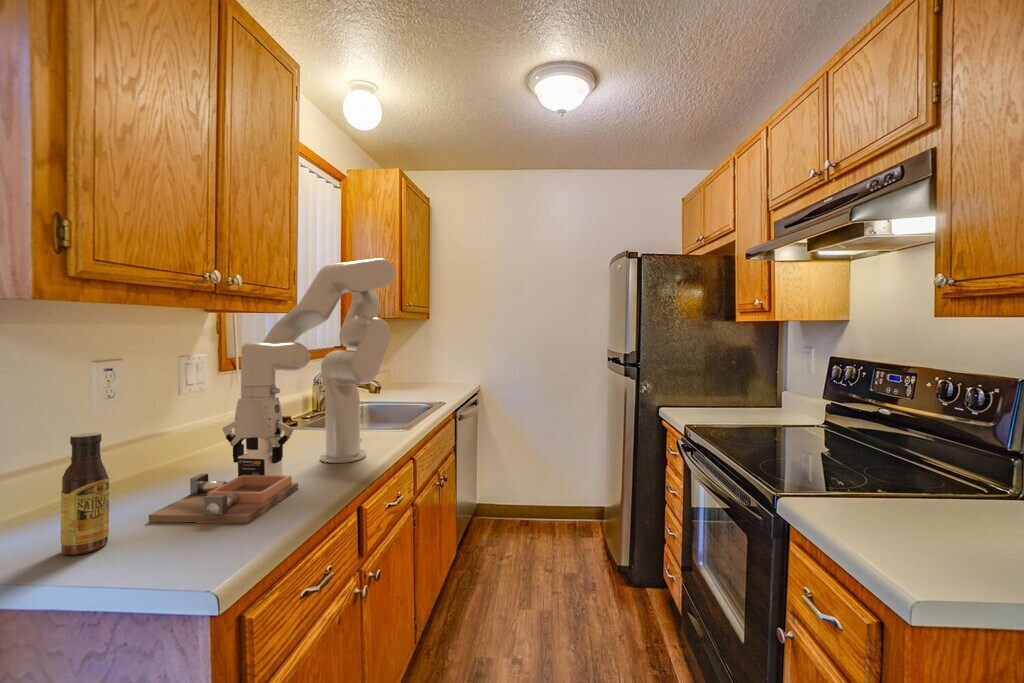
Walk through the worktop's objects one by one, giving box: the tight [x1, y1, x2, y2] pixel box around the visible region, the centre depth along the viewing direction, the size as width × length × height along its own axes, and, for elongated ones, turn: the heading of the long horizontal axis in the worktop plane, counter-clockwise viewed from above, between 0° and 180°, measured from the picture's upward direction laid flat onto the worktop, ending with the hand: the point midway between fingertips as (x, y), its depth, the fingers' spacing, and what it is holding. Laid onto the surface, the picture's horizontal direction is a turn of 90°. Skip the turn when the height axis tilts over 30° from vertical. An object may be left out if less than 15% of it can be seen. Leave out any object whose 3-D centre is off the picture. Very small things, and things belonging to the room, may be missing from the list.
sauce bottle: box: [60, 432, 110, 556], centre depth 82 cm, size 6×6×20 cm
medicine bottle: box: [237, 437, 283, 477], centre depth 118 cm, size 7×7×12 cm
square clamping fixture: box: [148, 473, 299, 525], centre depth 103 cm, size 20×20×5 cm
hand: (257, 461), depth 117 cm, fingers open, 9 cm apart
